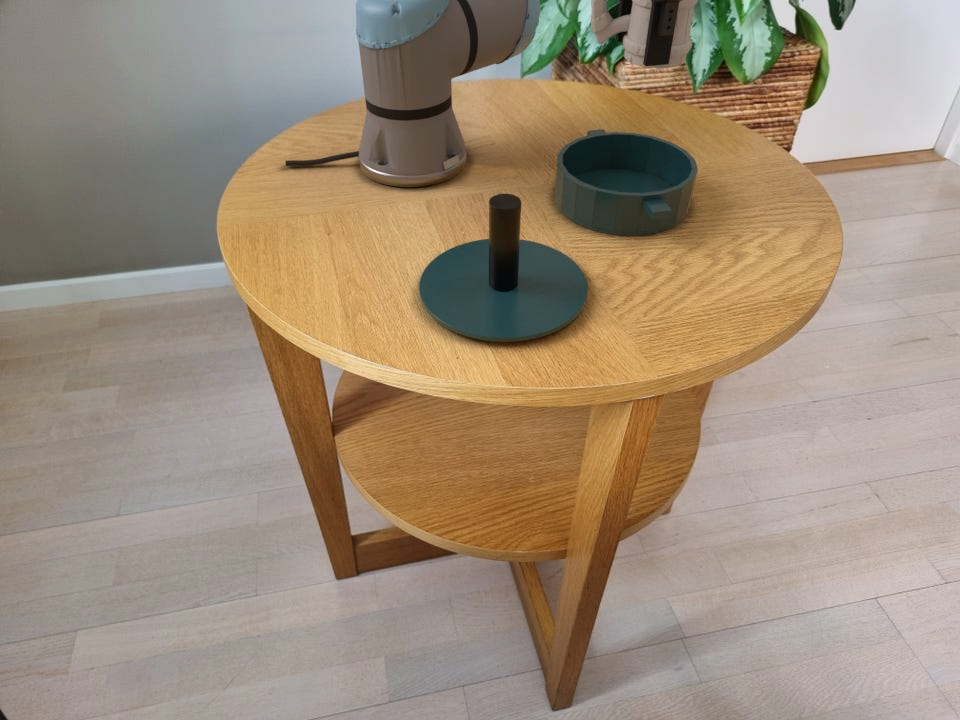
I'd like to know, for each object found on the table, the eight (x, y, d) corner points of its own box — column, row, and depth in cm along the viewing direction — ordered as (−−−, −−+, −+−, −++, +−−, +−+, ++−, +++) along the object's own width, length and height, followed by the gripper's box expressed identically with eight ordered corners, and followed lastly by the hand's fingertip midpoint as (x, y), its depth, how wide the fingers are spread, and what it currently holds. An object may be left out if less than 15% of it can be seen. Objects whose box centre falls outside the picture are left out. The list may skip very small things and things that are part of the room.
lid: (435, 358, 69) (429, 264, 61) (408, 257, 82) (400, 169, 75) (611, 332, 72) (626, 238, 64) (558, 238, 85) (564, 151, 78)
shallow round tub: (586, 255, 82) (591, 214, 79) (533, 168, 99) (535, 130, 95) (722, 237, 85) (733, 197, 81) (648, 155, 102) (654, 118, 98)
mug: (689, 72, 77) (713, -51, 69) (582, 64, 79) (593, -56, 71) (688, 49, 83) (710, -67, 75) (588, 42, 85) (599, -72, 77)
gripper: (772, -198, 58) (712, 80, 73) (668, -211, 73) (637, 22, 88) (688, -196, 57) (645, 87, 72) (600, -210, 72) (580, 27, 87)
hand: (641, 51), depth 80 cm, fingers closed on mug, 8 cm apart
